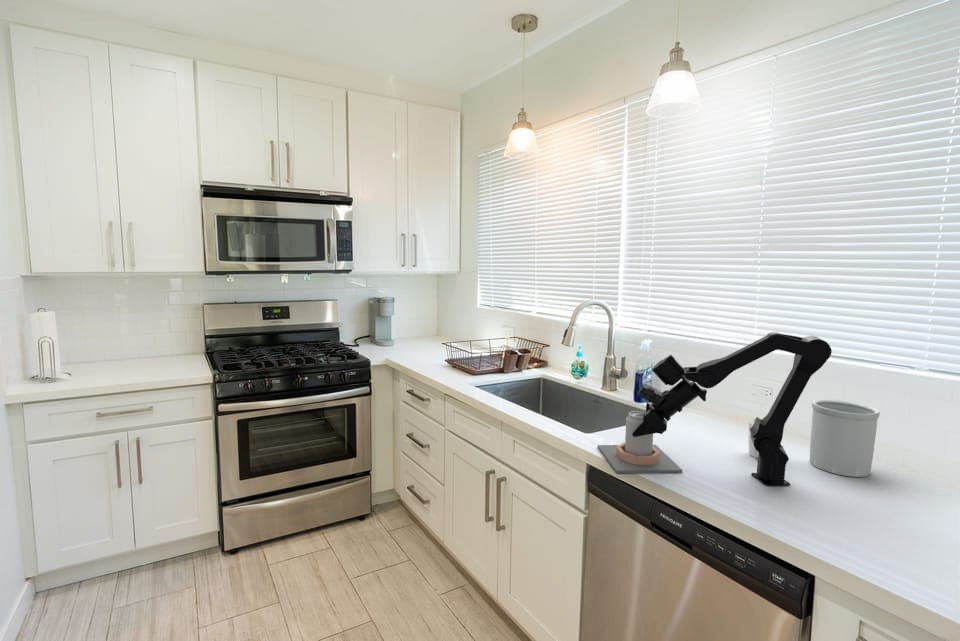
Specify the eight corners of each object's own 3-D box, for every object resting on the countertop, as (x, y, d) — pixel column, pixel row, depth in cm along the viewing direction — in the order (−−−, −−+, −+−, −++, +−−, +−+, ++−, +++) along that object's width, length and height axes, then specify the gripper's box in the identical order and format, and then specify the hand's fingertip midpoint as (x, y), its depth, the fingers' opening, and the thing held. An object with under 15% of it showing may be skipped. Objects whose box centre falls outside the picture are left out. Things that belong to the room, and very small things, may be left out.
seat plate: (682, 472, 129) (683, 462, 129) (616, 473, 129) (617, 462, 128) (655, 447, 147) (656, 437, 147) (597, 447, 146) (597, 438, 146)
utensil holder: (805, 452, 144) (810, 395, 142) (867, 463, 137) (874, 403, 135) (808, 470, 132) (814, 408, 130) (877, 483, 124) (885, 417, 122)
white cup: (746, 457, 140) (749, 424, 139) (746, 448, 147) (748, 417, 145) (778, 463, 136) (781, 429, 135) (776, 453, 143) (779, 421, 142)
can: (658, 456, 136) (659, 415, 135) (638, 461, 132) (640, 419, 131) (637, 447, 143) (639, 408, 141) (619, 452, 139) (620, 412, 138)
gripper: (658, 368, 142) (618, 401, 147) (654, 383, 125) (610, 419, 130) (685, 397, 140) (644, 429, 145) (686, 416, 123) (639, 451, 128)
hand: (634, 431), depth 137 cm, fingers closed on can, 7 cm apart
